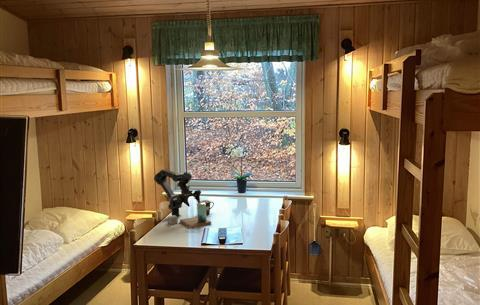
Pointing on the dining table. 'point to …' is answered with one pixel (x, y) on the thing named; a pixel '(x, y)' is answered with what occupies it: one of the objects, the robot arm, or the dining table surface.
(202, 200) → the coffee mug
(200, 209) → the teal tin
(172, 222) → the grey block
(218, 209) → the dining table surface
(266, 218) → the dining table surface
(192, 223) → the walnut board
